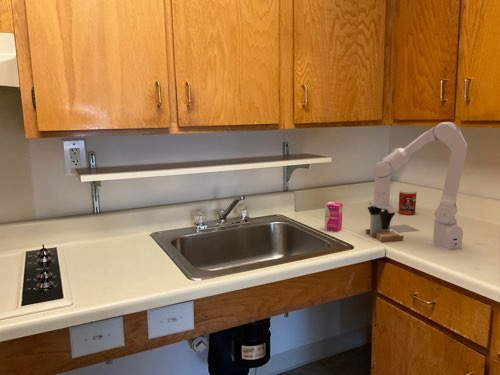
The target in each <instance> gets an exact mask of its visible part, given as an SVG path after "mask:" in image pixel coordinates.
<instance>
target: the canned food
mask: <svg viewBox="0 0 500 375" xmlns="http://www.w3.org/2000/svg"><path fill="white" fill-rule="evenodd" d="M417 193H418V192H417V191H416V190H415V189H400V190H399V193H398V194H399V195H398V210H397V211H398V214H400V215H403V216H413V215H415V213H416V206H417Z"/></svg>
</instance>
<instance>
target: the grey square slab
mask: <svg viewBox="0 0 500 375" xmlns="http://www.w3.org/2000/svg"><path fill="white" fill-rule="evenodd" d="M369 225H370V228H369V229H370V235H371V236H373V233H376V232H389V231H391V229H390V226H391V223H390V224H389V227H388V229H386V230H383V229H382V223H381V216H380V215H370V223H369ZM371 236H370V237H371Z"/></svg>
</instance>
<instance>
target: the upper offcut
mask: <svg viewBox="0 0 500 375" xmlns="http://www.w3.org/2000/svg"><path fill="white" fill-rule="evenodd" d="M377 236H378V237H380V238H381V237H390V236H400V233H398V232H396V231H394V232H384V233H377Z"/></svg>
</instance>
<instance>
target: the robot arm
mask: <svg viewBox="0 0 500 375" xmlns="http://www.w3.org/2000/svg"><path fill="white" fill-rule="evenodd" d="M436 141H441V142H442V143H444V144H445V145H446V146H447V147H448V148H449V150H450V151H451V152H450V157H449V161H448V166H447V171H446V176H445V179H444V180H445V181H444V185H443V190H442V194H441V197H440V201H439V205H438V206H437V207H436V209H435V211H434V217H435V218H434V221H433V234H432V241H427V243H428V244H431V245H433V246H435V247H437V248H440V249H442V250H444V251H447V250H456V249H464V247H463V238H464V237H463V235H464V231H463V228H462V227H460V226H459V225H458V223H457V222H458V220H456V217H455V216H456V215H457V212H458V208H457V200H458V198H457V197H458V192H459V187H460V184H461V183H460V182H461V179H462V176H463V169H464V165H465V160H466V156H467V151H468V144H467V141H466V140H465V137H464V136H463V134H462V131H461V129H460V128H459V127H458V126H457V125H456V124H455V123H454V122H452V121H444V122H439V123H438V124H437V125H436V126H433V127H432V128H429V129H428V130H427V131H425V132H424V133H422V134H420V135H419V136H418V137H417V138H416V139H413V141H412V142H411V143H409V144H407V145H406V146H405V147H398V148H393V149H392V152H391V153H390V154H388V155H387V156H386V157H385V156H384V157H382V158H381V161H378V162H376V164H375V165H373V173H374V184H373V185H374V186H373V200H372V199H370V200H369V201H368V204H369V206H368V207H367V210H368V212H369V215H370V216H371V215H380V216H381V223H382V229H383V230H386V229H388V227H389V224H390V225H391V221H392V219H393V218H394V216H395V214H396V212H395V207H394V206H392V205H391V204H390V193H391V174H392V173H393V171H396V170H397V169H398V168H400V167H401V166H402V165H404V164H405V163H407V162H408V161H409V160H410V156H411V154H413V153H414V152H416V151H418V150H419V149H420V148H423V146H424V145H427V144H428V143H429V142H436Z"/></svg>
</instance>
